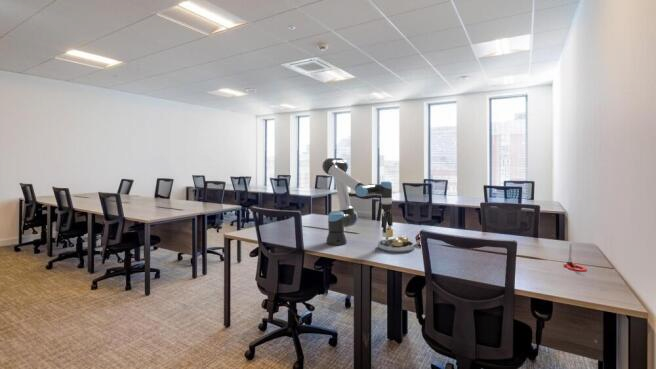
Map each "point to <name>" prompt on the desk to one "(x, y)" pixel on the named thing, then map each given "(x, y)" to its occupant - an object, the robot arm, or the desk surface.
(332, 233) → the robot arm
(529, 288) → the desk surface
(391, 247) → the carrier plate
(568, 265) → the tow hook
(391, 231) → the planet gear
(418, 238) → the brake caliper
